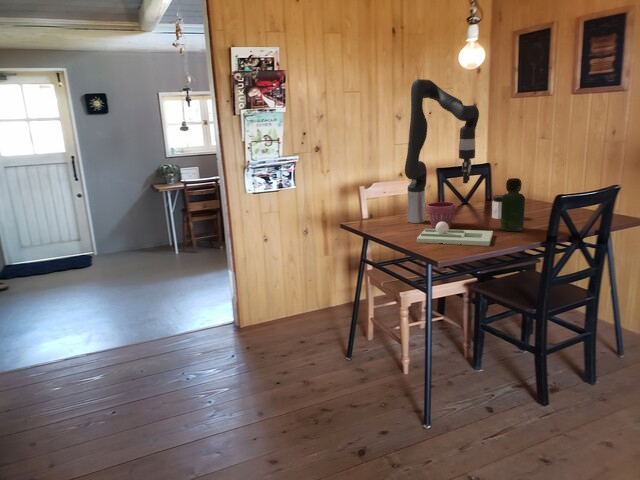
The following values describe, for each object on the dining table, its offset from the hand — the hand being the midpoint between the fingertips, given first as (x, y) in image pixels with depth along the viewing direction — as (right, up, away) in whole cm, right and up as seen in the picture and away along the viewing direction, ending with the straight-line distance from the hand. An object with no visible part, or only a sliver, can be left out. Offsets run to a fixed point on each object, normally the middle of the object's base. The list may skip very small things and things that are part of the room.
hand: (466, 182), depth 231 cm
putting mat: (-8, -28, -9) cm, 30 cm away
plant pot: (-9, -23, +13) cm, 28 cm away
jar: (+28, -16, +29) cm, 44 cm away
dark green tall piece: (+23, -23, +2) cm, 33 cm away
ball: (-14, -23, -8) cm, 28 cm away
